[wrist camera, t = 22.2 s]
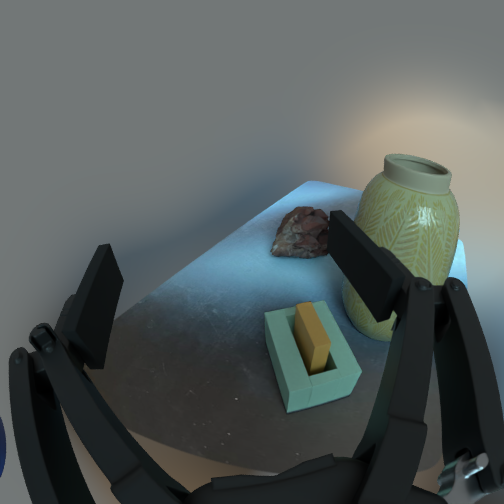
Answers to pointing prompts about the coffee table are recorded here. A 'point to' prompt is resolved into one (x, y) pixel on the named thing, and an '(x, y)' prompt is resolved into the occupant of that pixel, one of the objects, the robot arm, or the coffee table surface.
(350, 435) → the coffee table surface
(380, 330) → the vase
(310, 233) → the mineral specimen
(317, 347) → the toast
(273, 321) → the toaster
